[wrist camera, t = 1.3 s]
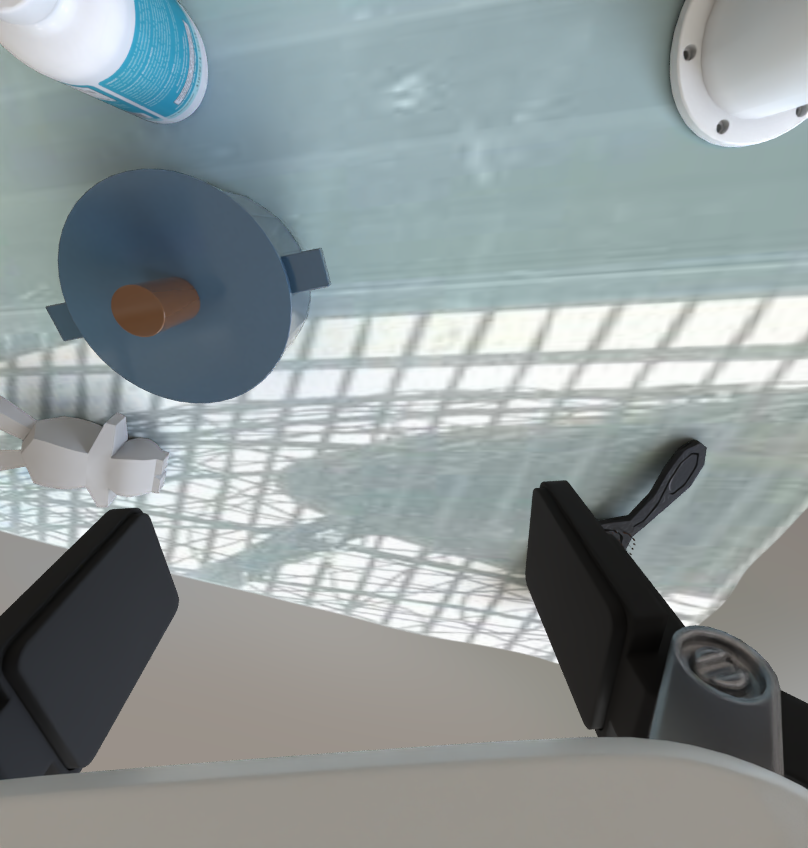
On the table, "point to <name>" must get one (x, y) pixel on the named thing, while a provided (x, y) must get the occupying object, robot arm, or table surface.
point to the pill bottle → (113, 51)
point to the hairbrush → (660, 492)
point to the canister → (300, 266)
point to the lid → (175, 285)
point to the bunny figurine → (83, 455)
